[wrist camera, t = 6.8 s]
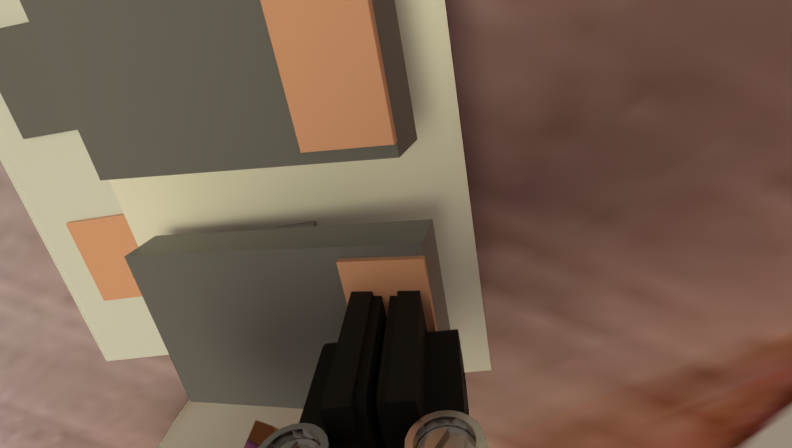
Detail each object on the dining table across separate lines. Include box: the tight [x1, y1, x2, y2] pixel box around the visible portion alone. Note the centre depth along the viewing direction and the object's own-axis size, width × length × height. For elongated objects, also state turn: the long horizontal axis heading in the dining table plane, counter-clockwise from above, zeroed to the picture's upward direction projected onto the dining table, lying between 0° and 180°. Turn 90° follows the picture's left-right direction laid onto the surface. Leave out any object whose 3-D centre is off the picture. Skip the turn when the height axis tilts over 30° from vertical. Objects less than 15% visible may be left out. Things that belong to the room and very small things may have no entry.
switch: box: [124, 219, 450, 409], centre depth 13 cm, size 8×5×1 cm, turn 100°
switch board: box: [0, 0, 491, 372], centre depth 14 cm, size 17×24×5 cm
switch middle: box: [20, 0, 417, 180], centre depth 10 cm, size 8×5×1 cm, turn 100°
